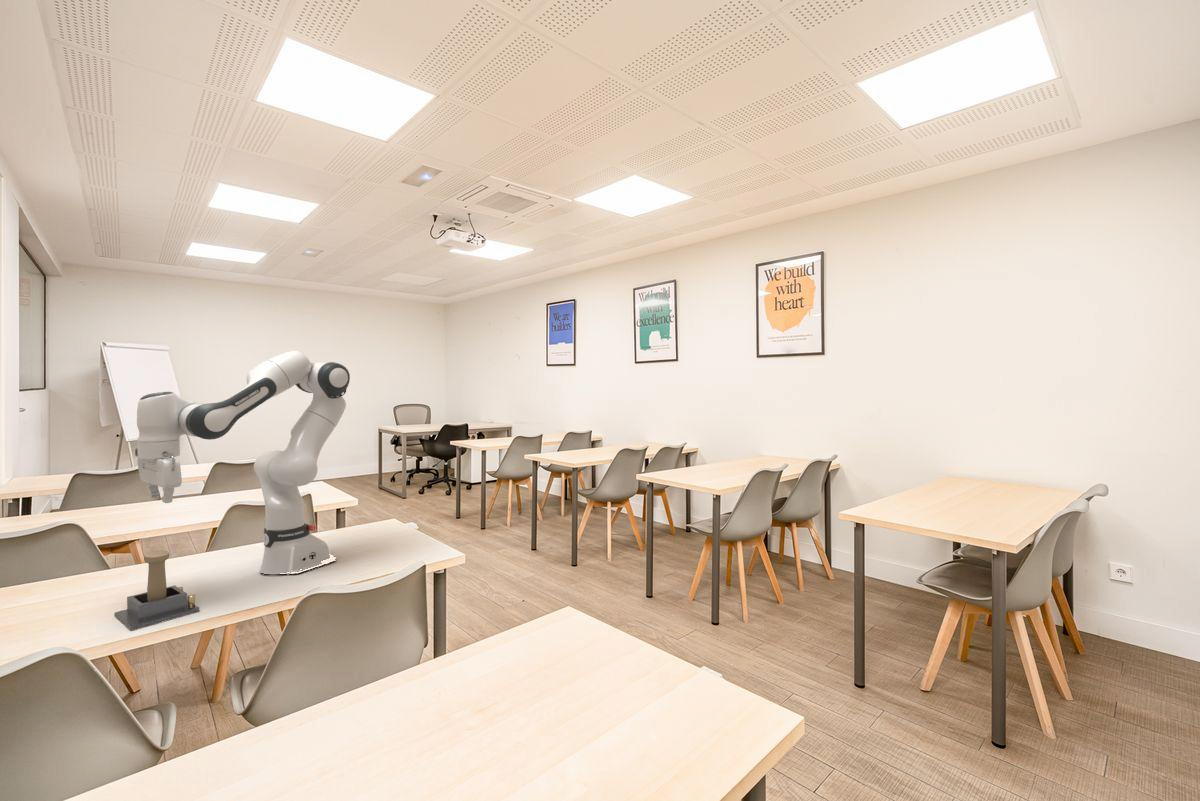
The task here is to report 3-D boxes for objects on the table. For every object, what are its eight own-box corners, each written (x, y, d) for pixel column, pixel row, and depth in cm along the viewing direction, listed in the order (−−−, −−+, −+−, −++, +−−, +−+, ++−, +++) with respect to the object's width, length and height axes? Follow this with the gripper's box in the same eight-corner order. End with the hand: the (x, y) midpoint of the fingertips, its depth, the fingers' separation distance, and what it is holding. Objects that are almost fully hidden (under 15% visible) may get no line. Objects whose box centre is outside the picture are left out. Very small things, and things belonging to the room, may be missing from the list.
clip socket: (180, 598, 146) (180, 581, 146) (199, 611, 138) (199, 592, 138) (114, 616, 135) (114, 597, 135) (130, 630, 127) (130, 610, 127)
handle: (148, 616, 133) (147, 558, 132) (141, 610, 137) (141, 553, 136) (172, 610, 136) (171, 554, 136) (165, 604, 140) (165, 549, 140)
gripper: (188, 452, 140) (189, 503, 140) (160, 447, 151) (162, 493, 151) (158, 455, 134) (160, 507, 135) (132, 449, 146) (134, 498, 146)
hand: (161, 500), depth 143 cm, fingers open, 8 cm apart
